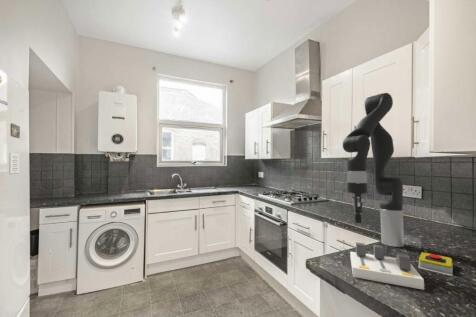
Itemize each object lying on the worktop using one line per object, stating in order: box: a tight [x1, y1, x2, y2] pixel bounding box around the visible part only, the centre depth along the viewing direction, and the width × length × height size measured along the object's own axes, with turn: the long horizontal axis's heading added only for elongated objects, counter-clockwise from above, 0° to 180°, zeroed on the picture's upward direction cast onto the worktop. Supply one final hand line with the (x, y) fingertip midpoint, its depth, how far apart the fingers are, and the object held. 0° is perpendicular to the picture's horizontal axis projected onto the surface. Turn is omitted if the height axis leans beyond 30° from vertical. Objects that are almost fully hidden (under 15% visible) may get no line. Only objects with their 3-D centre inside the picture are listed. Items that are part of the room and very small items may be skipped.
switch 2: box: [372, 244, 385, 259], centre depth 82 cm, size 3×3×4 cm
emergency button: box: [417, 251, 454, 277], centre depth 83 cm, size 9×4×15 cm
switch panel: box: [349, 251, 425, 291], centre depth 77 cm, size 17×19×3 cm
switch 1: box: [355, 242, 367, 256], centre depth 84 cm, size 3×3×4 cm
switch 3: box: [396, 253, 412, 270], centre depth 73 cm, size 3×3×4 cm
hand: (358, 222), depth 92 cm, fingers closed
